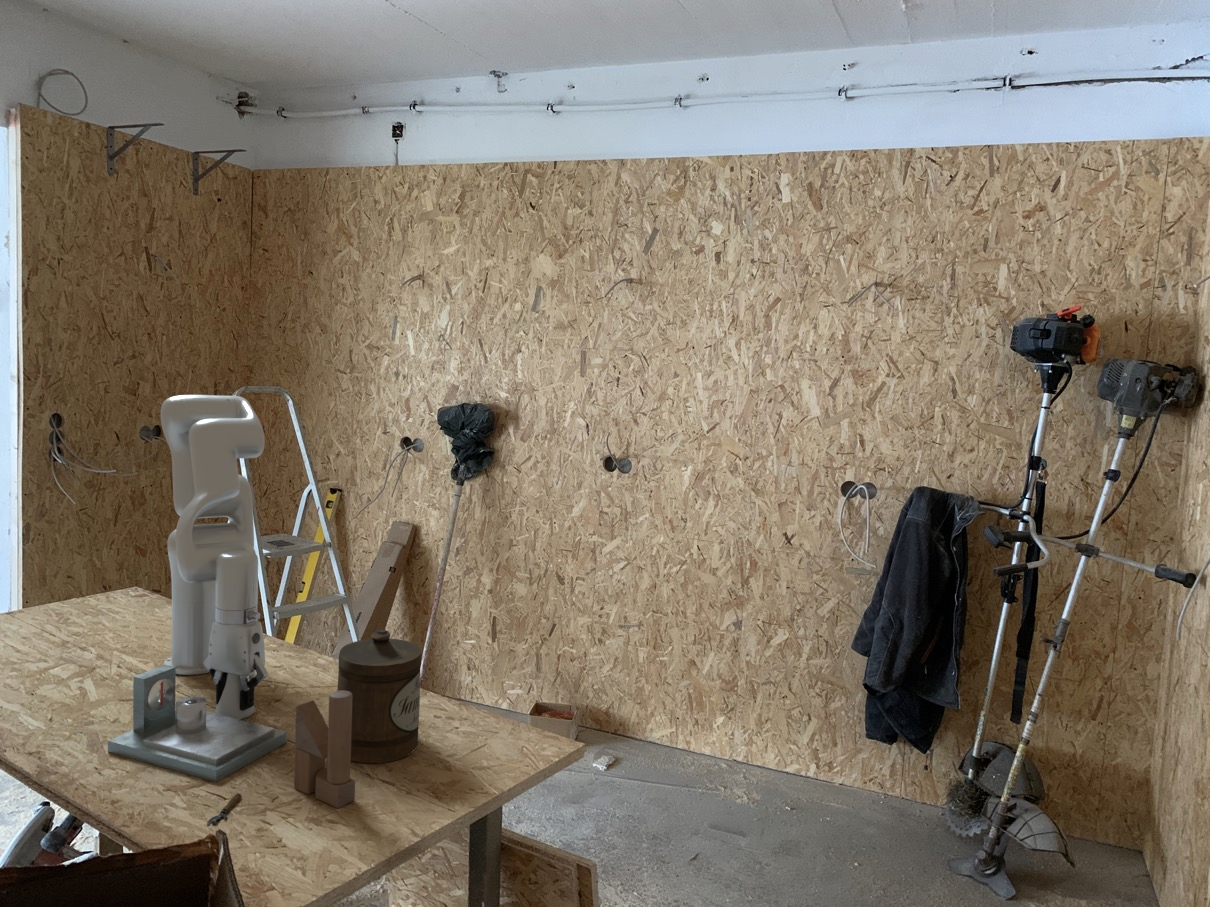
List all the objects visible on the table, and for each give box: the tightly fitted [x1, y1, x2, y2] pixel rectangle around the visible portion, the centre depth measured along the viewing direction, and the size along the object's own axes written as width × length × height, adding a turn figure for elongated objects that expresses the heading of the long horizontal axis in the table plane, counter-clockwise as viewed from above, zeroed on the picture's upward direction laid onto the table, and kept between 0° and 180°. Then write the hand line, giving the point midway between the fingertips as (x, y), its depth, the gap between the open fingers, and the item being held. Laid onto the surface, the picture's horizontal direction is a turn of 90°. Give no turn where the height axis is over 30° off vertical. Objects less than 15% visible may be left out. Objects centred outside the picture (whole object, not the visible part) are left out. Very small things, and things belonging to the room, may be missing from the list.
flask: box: [214, 673, 257, 720], centre depth 174 cm, size 7×7×10 cm
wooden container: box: [336, 628, 422, 764], centre depth 163 cm, size 15×15×22 cm
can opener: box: [206, 792, 242, 827], centre depth 138 cm, size 9×2×1 cm, turn 172°
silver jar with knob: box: [175, 696, 207, 735], centre depth 160 cm, size 5×5×5 cm
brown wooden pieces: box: [293, 690, 356, 809], centre depth 144 cm, size 4×11×18 cm, turn 57°
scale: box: [107, 665, 288, 783], centre depth 159 cm, size 17×24×12 cm
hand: (235, 704), depth 174 cm, fingers open, 5 cm apart
